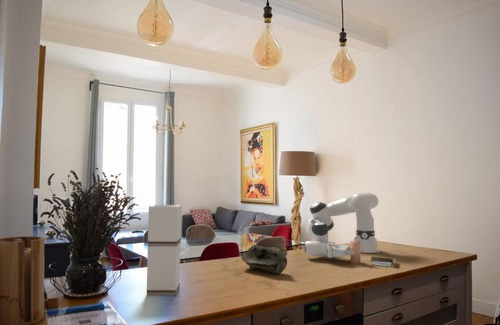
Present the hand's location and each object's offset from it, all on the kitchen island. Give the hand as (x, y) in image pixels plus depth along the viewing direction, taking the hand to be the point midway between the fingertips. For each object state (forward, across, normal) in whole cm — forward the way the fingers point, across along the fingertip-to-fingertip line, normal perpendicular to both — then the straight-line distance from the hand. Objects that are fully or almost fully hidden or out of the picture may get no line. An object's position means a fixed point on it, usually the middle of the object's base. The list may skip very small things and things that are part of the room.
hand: (355, 251), depth 213 cm
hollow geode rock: (-40, +42, -7) cm, 58 cm away
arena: (+15, -3, -6) cm, 16 cm away
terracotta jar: (0, 0, -6) cm, 7 cm away
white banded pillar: (-66, +92, -7) cm, 114 cm away
